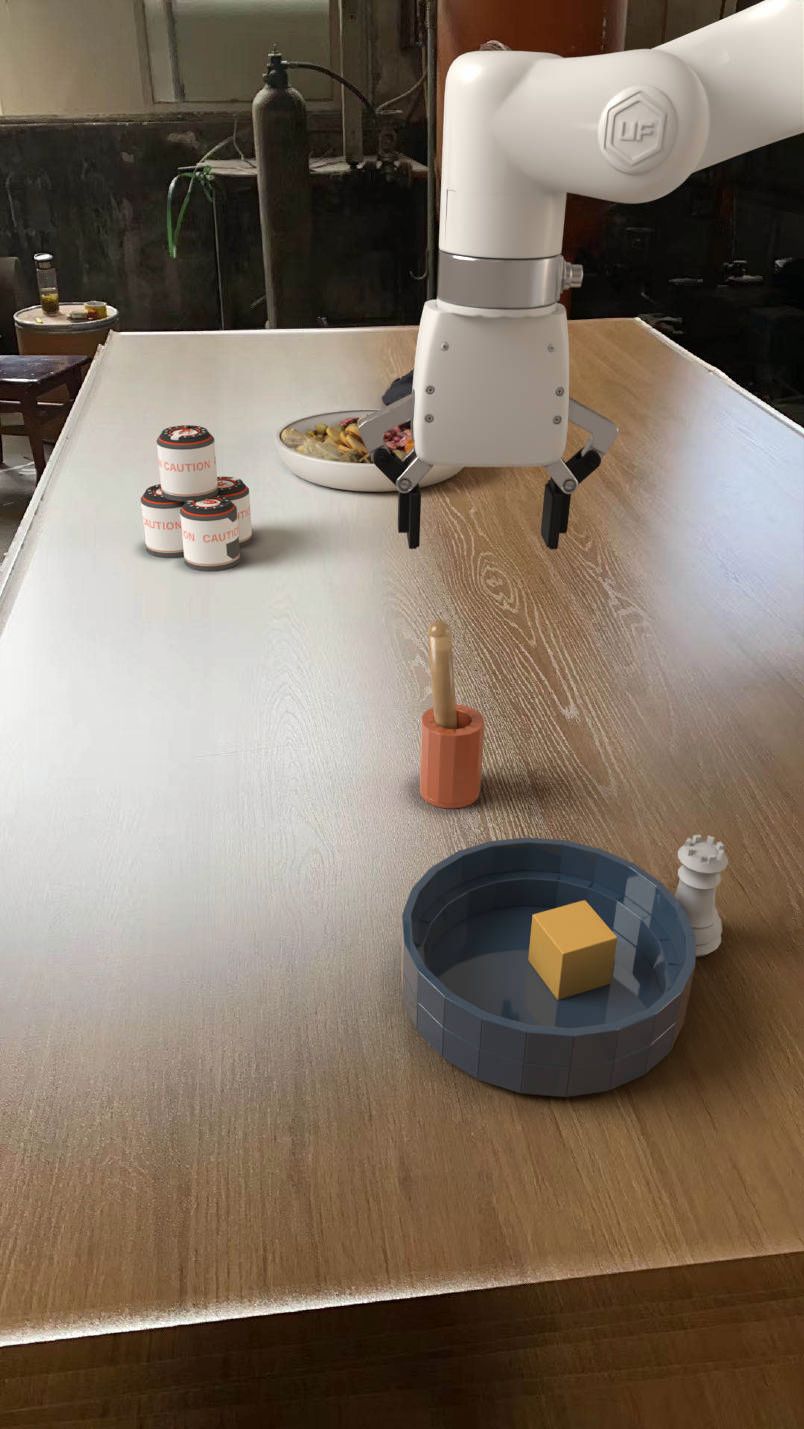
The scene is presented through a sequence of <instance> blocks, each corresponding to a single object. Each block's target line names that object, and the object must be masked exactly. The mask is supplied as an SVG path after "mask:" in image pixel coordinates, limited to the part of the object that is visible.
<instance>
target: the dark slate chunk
mask: <svg viewBox="0 0 804 1429" xmlns="http://www.w3.org/2000/svg"><path fill="white" fill-rule="evenodd" d="M413 376H414V367H413V369H412V370H410V371H409V372H408V373H406V374H404V375H402V376H401V377H397V378H396V379H394V380H393V381H392V382H391V384H390V386H389V388H387V389H386V390H385V392H384V394H383V395H382V396H381V401H382V404H383V405H385V407H386V406H388V405H390V404H392V403H394V402H396V401H398V400H400V399H402V398H404V397H406V396H408V395H410V394H412V389H413Z"/></svg>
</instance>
